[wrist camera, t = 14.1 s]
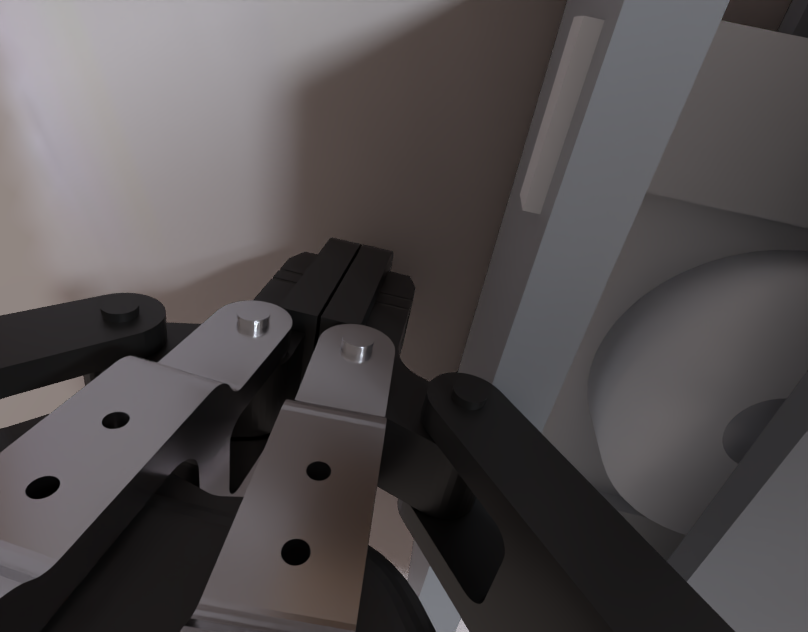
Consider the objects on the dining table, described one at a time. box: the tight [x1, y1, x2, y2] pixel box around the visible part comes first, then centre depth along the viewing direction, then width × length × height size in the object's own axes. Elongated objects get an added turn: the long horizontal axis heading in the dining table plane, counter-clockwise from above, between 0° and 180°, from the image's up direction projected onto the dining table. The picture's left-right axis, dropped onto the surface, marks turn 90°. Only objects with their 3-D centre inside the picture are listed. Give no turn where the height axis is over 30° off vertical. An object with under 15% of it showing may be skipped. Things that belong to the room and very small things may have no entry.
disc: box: [587, 250, 808, 535], centre depth 11 cm, size 6×6×2 cm
